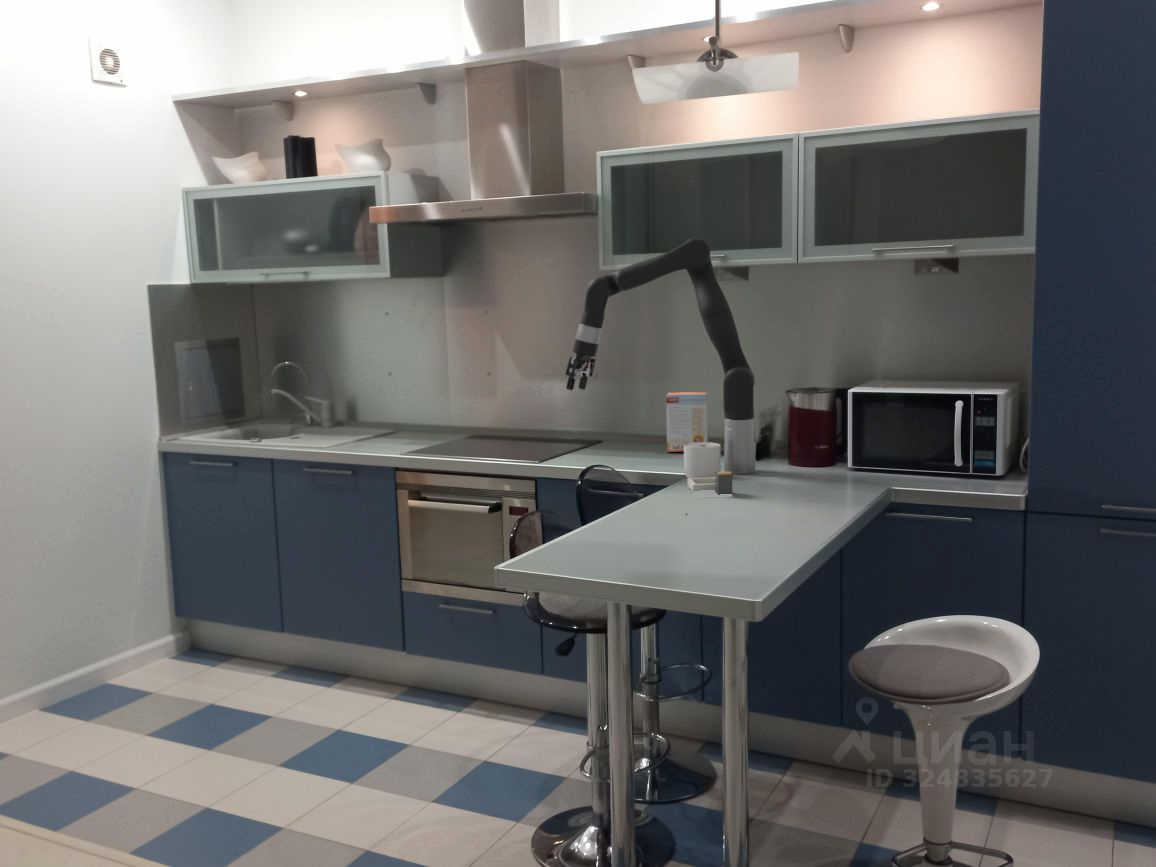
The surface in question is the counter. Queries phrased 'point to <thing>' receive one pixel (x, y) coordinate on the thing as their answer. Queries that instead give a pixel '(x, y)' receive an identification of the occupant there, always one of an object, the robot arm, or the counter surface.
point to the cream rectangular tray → (701, 483)
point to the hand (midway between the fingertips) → (575, 389)
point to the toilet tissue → (702, 459)
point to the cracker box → (686, 419)
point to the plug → (723, 483)
